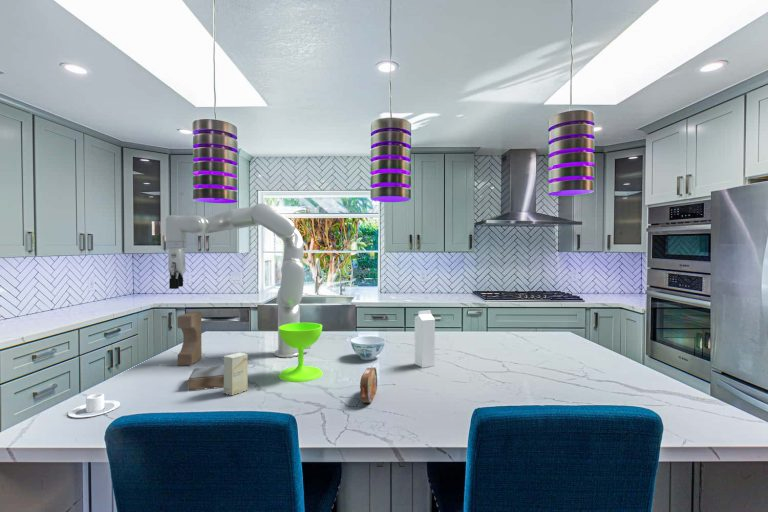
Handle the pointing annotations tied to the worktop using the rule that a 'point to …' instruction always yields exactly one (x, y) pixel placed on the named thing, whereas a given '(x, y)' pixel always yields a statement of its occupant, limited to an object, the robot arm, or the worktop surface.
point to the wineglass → (300, 349)
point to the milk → (424, 339)
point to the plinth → (206, 378)
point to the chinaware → (368, 346)
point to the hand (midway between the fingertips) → (176, 287)
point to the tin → (368, 385)
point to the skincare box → (235, 373)
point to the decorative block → (190, 338)
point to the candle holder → (94, 405)
